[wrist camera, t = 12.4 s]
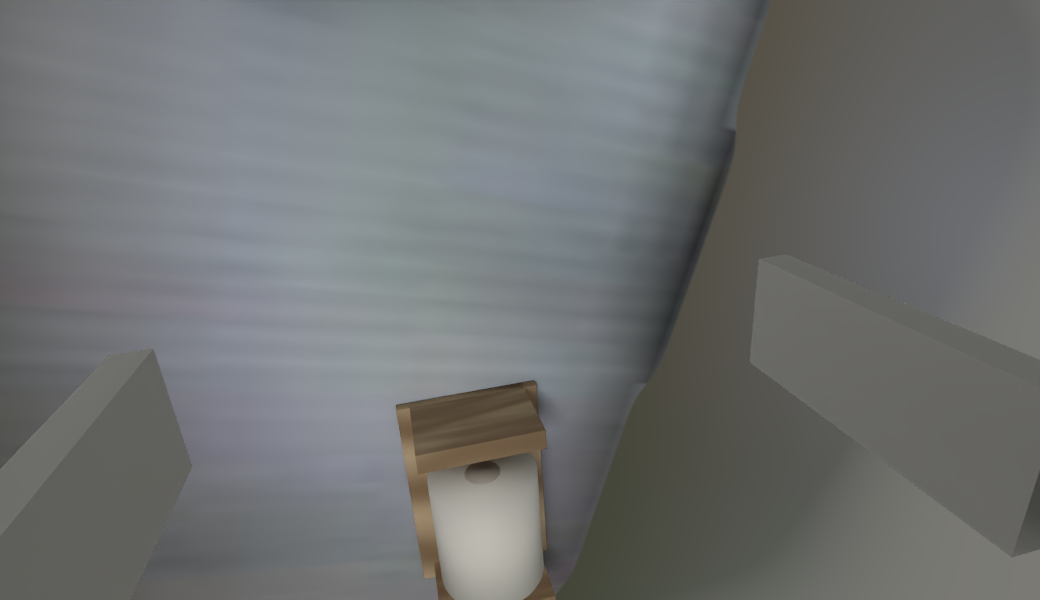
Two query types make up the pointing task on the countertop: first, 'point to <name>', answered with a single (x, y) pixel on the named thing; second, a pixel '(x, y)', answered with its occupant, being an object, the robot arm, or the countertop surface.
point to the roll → (488, 528)
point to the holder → (468, 452)
